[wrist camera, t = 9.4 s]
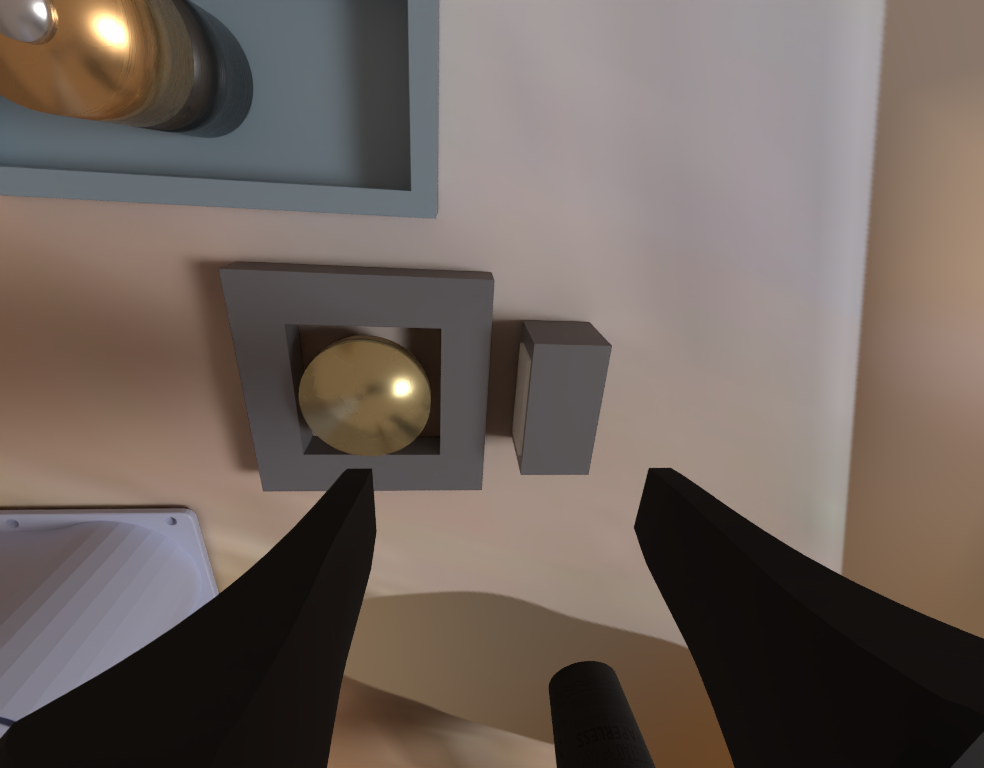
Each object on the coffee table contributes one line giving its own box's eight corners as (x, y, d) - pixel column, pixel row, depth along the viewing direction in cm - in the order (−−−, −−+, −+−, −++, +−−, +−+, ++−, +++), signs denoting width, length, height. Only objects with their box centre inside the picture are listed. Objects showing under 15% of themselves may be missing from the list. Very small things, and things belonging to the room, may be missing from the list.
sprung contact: (312, 445, 20) (306, 456, 19) (296, 333, 17) (290, 340, 17) (431, 446, 20) (430, 456, 19) (431, 337, 18) (430, 343, 17)
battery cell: (149, 134, 15) (-53, 105, 9) (117, -3, 13) (-151, -145, 7) (261, 141, 15) (136, 119, 9) (242, 9, 14) (80, -118, 8)
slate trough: (-8, 188, 16) (-89, 190, 13) (-121, -109, 12) (-255, -175, 10) (437, 212, 17) (435, 218, 15) (439, -45, 14) (437, -90, 12)
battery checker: (275, 471, 22) (249, 513, 19) (236, 261, 17) (196, 277, 15) (566, 470, 23) (581, 510, 20) (596, 276, 19) (621, 293, 16)
